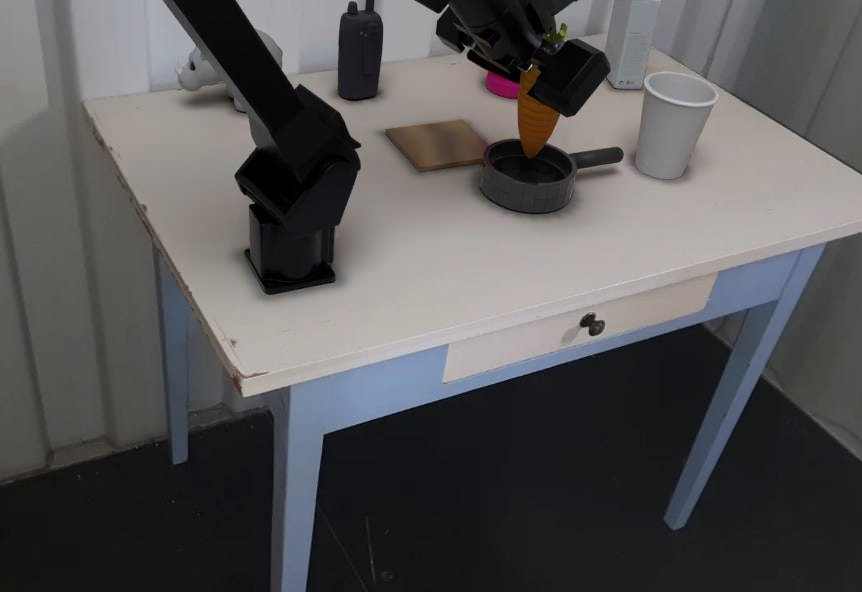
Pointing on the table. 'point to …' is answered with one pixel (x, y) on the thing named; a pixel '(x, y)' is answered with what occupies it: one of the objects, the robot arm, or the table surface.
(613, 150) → the pan handle
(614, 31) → the cosmetic box
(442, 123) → the wooden board
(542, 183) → the pan
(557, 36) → the carrot
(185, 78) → the toy rhinoceros
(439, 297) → the table surface
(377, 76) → the two-way radio
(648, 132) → the dixie cup
